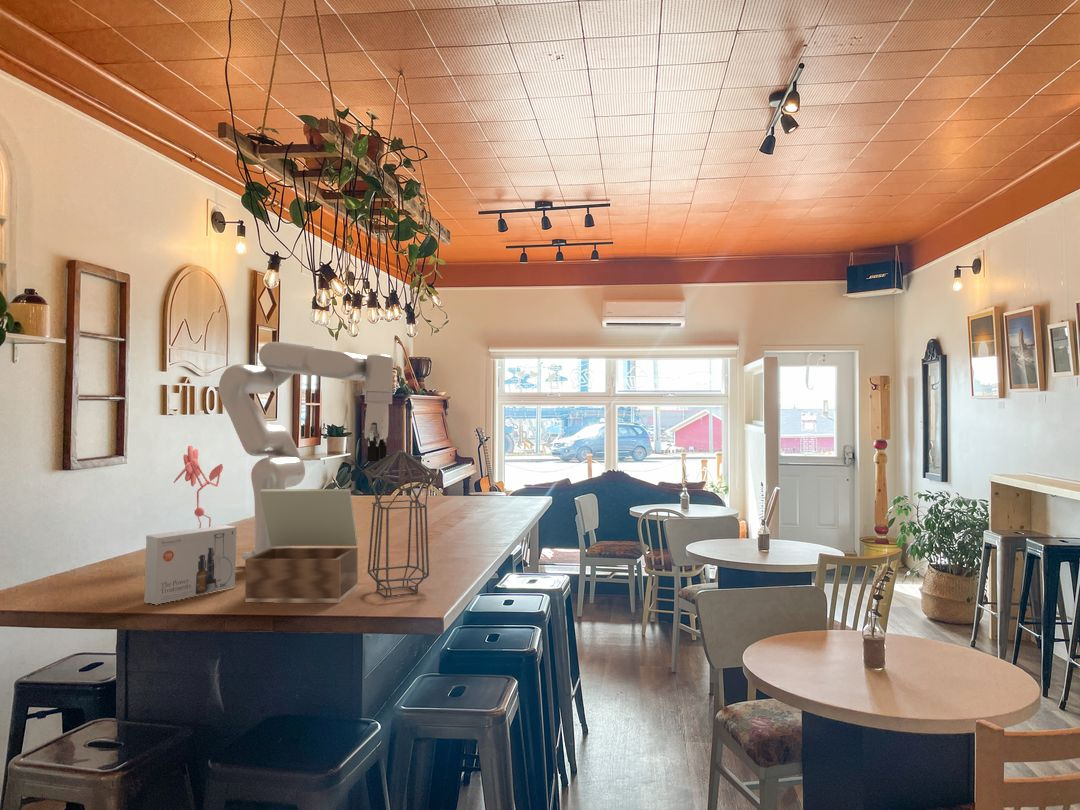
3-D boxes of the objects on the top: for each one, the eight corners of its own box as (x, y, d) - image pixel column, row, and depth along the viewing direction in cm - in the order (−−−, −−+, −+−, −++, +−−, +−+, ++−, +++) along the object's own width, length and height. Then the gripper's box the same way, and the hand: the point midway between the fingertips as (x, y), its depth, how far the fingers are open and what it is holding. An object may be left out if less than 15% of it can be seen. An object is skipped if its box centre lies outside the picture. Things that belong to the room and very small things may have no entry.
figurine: (230, 552, 237) (228, 443, 238) (201, 569, 212) (198, 446, 212) (180, 554, 236) (178, 444, 236) (145, 571, 210) (142, 448, 210)
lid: (259, 491, 181) (261, 489, 182) (270, 545, 188) (271, 543, 189) (349, 491, 181) (350, 489, 182) (356, 545, 187) (357, 543, 188)
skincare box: (156, 606, 170) (156, 537, 170) (143, 603, 173) (143, 535, 173) (237, 588, 188) (237, 525, 188) (224, 586, 190) (224, 524, 191)
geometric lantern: (418, 582, 193) (420, 448, 193) (438, 597, 179) (441, 452, 179) (357, 588, 186) (360, 449, 186) (373, 604, 172) (376, 453, 172)
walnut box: (245, 602, 173) (245, 559, 173) (271, 586, 189) (271, 547, 189) (339, 602, 172) (339, 559, 172) (357, 587, 188) (357, 547, 188)
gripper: (371, 399, 216) (370, 457, 216) (357, 398, 198) (356, 461, 198) (397, 399, 216) (396, 458, 216) (385, 398, 199) (384, 462, 198)
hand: (377, 460), depth 207 cm, fingers open, 9 cm apart
